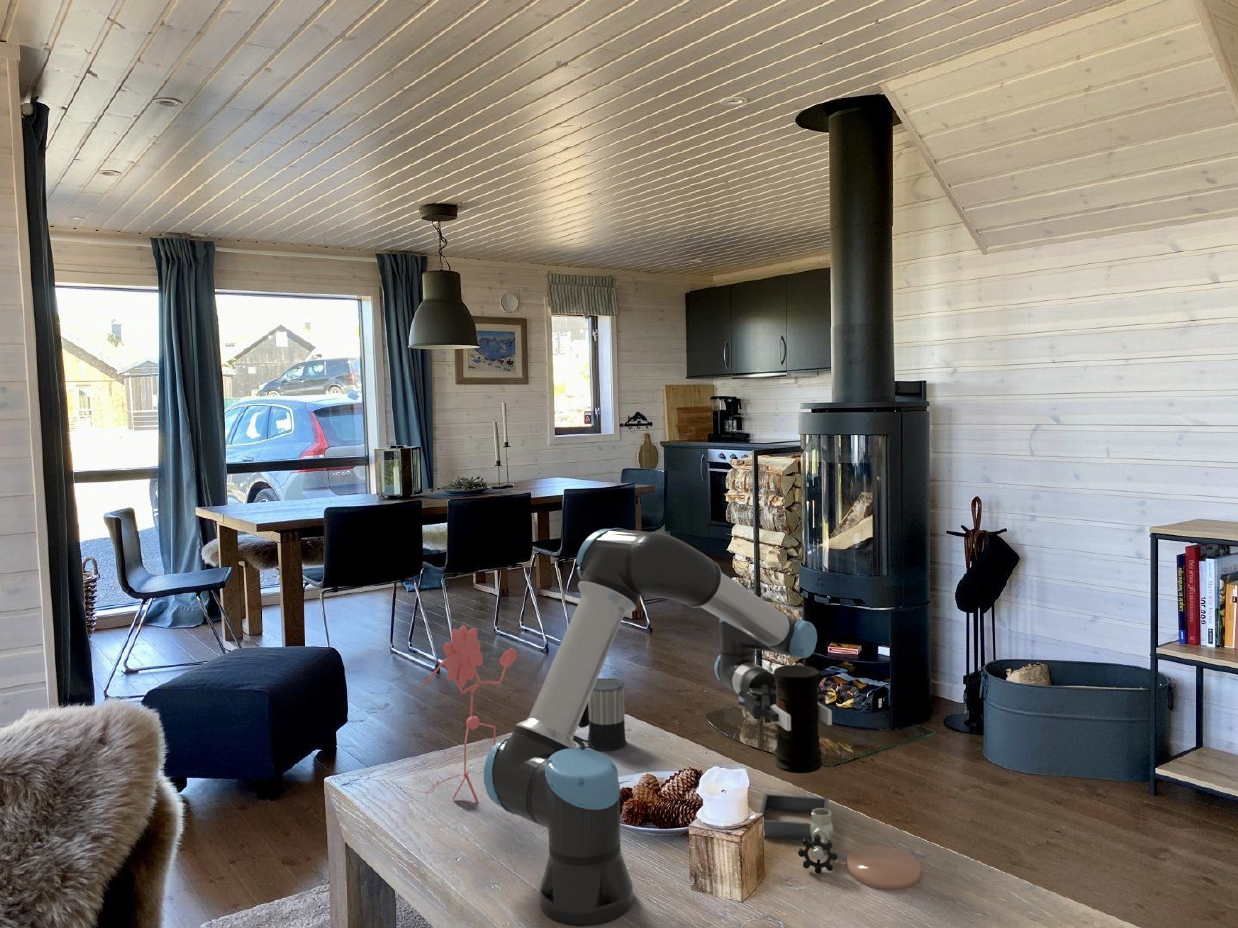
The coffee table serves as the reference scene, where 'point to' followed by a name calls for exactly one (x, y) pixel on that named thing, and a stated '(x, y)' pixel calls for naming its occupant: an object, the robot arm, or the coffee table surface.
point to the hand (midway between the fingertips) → (809, 720)
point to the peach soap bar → (884, 867)
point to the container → (798, 719)
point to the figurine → (468, 675)
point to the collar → (789, 805)
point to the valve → (819, 841)
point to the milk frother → (604, 716)
